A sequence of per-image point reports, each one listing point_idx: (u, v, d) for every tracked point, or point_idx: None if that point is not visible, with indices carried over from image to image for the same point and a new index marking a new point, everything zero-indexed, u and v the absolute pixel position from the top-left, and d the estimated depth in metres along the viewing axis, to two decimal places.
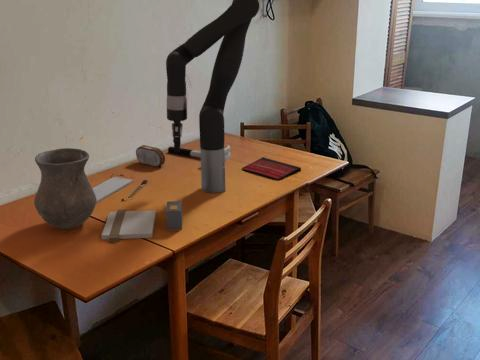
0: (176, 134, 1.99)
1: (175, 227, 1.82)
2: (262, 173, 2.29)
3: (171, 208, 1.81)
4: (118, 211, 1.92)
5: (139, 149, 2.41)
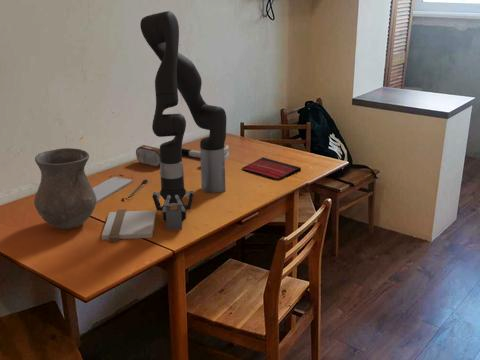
0: None
1: (175, 227, 1.82)
2: (262, 173, 2.29)
3: (171, 208, 1.81)
4: (118, 211, 1.92)
5: (139, 149, 2.41)
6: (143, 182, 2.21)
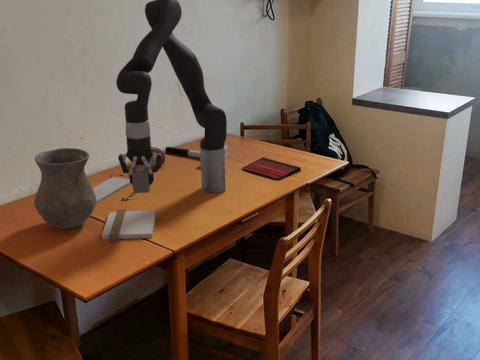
0: (159, 162, 1.77)
1: (142, 190, 1.76)
2: (262, 173, 2.29)
3: (138, 170, 1.75)
4: (118, 211, 1.92)
5: None
6: None
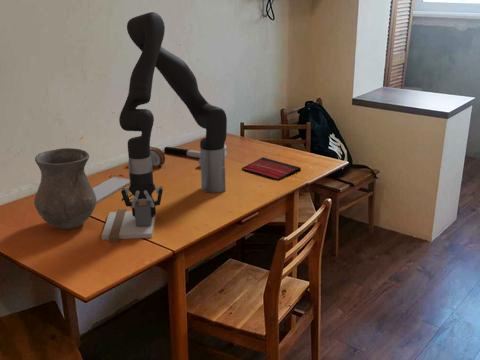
0: (161, 196, 1.82)
1: (144, 223, 1.80)
2: (262, 173, 2.29)
3: (140, 204, 1.80)
4: (118, 211, 1.92)
5: None
6: None
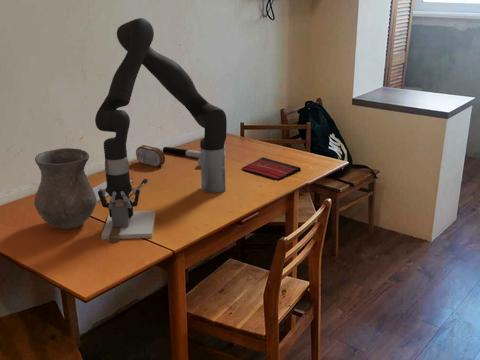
0: (138, 196, 1.81)
1: (121, 224, 1.80)
2: (262, 173, 2.29)
3: (117, 205, 1.79)
4: None
5: (139, 149, 2.41)
6: (143, 181, 2.22)
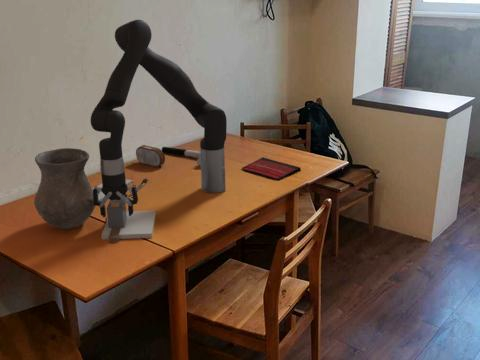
0: (136, 194, 1.81)
1: (117, 225, 1.80)
2: (262, 173, 2.29)
3: (112, 205, 1.79)
4: None
5: (139, 149, 2.41)
6: (143, 181, 2.22)
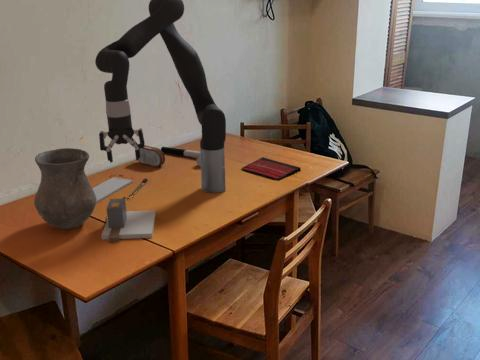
0: (143, 137, 1.80)
1: (117, 225, 1.80)
2: (262, 173, 2.29)
3: (112, 205, 1.79)
4: None
5: None
6: (143, 181, 2.22)
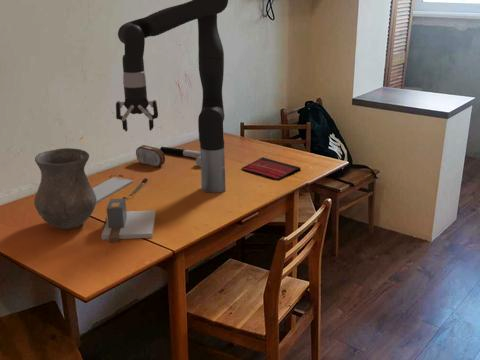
0: None
1: (117, 225, 1.80)
2: (262, 173, 2.29)
3: (112, 205, 1.79)
4: None
5: (139, 149, 2.41)
6: (143, 181, 2.22)
